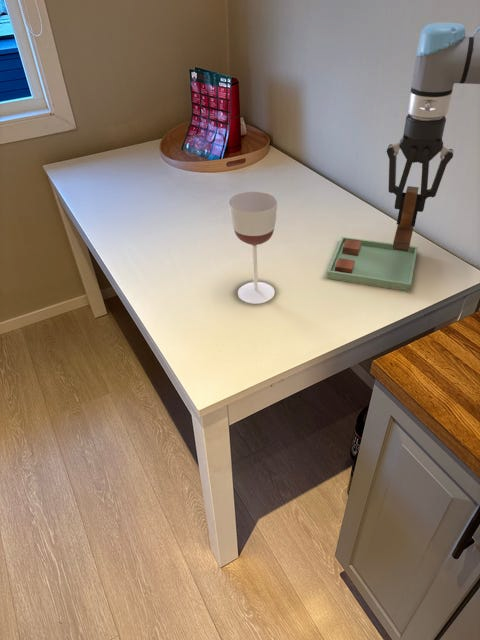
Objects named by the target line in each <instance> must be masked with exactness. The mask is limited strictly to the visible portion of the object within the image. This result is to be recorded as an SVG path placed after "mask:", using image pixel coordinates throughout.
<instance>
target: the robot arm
mask: <svg viewBox="0 0 480 640" xmlns="http://www.w3.org/2000/svg"><path fill="white" fill-rule="evenodd" d="M455 84H458V85H459V84H460V85H461V84H469V85H480V26H478V27H477V28H476V29H475V30H474V31H473V33H472V35H471V36H467V35H466V26H465V25H464V24H463V23H460V22H448V21H446V22H445V21H443V22H441V21H440V22H433V23H429V24H427V25H425V26H424V27H423V28H422V30H421V31H420V35H419V40H418V45H417V50H416V54H415V61H414V67H413V74H412V82H411V87H410V93H409V98H408V103H407V104H408V105H407V109H406V112H407V113H408V114H407V115H406V116H405V122H404V128H403V135H402V137H401V138H400V140H399V142H398V143H395V144H392V143H390V144H388V146H387V149H386V154H387V157H388V161H389V162H388V193H390V194H394V195H395V201H394V206H393V207H394V210H398V213H397V220H396V225H397V226H398V225H400V222H401V217H402V211H403V206H404V200H405V195H406V192H404V191H405V187H406V183H407V180H408V178H409V174H410V172H411V168H412V165H413V164H414V163H419V164H421V181H420V193H418V194H417V199H416V204H415V209H414V214H413V219H412V224H411V226H414V227H415V226H416V222H417V221H416V220H417V216H418V213H423V212H424V209H425V205H426V200H427V199H428V198H435V197H436V196H437V193H438V190H439V187H440V184H441V182H442V179H443V176H444V175H445V174H444V173H445V171H446V168H447V165H448V164H449V163H450V162H451V160H452V158H454V152H455V151H454V149H453V148H447V147H446V146H444V142H443V135H444V131H445V127H446V122H447V118H446V115H448V112H449V109H450V105H451V99H452V95H453V89H454V85H455ZM400 150H401V152H402V155H403V156H404V158H405V160H406V162H405V165H404V168H403V171H402V174H401V178H400V181H399V185H397V184H396V183H397V157H398V155H399V152H400ZM439 153H440V155H439V158H440V162H439V165H438V167H437V171H436V173H435V175H434V179H433V181H432V184H431V186H430V188H428V184H429V172H430V171H429V170H430V162H431V161H432V160H433V159H434V158H435V157H436V156H437V155H438V154H439ZM414 227H413V228H414Z"/></svg>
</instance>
